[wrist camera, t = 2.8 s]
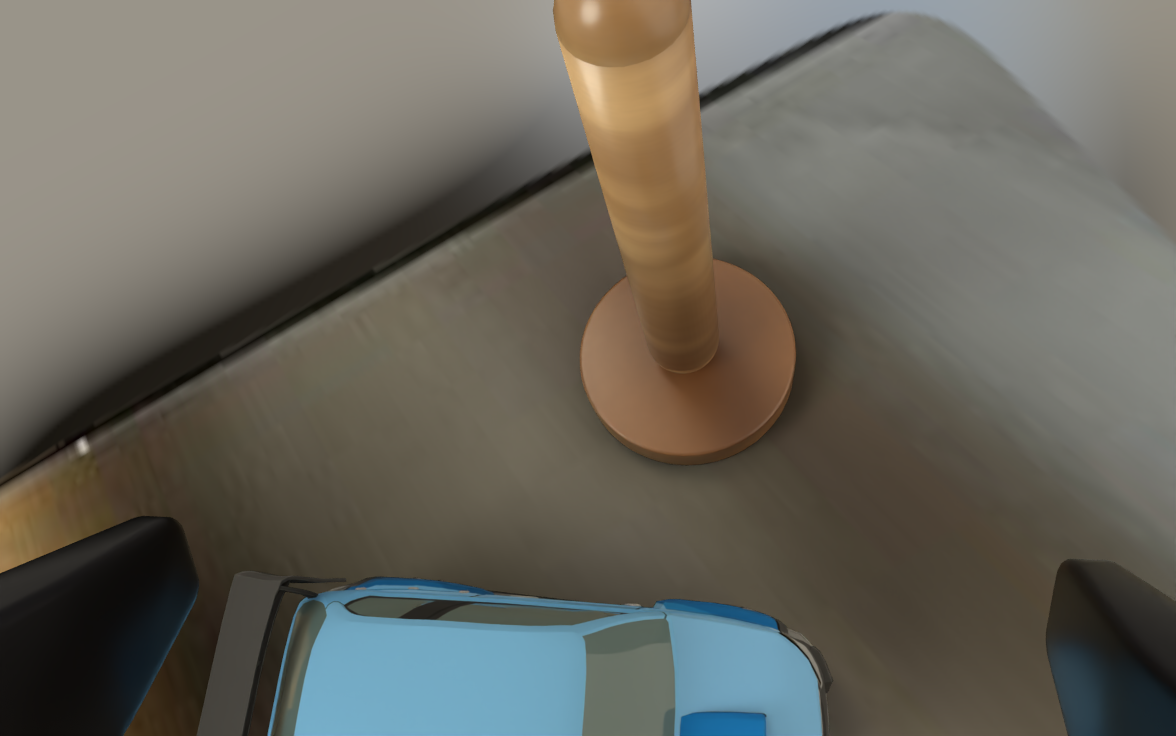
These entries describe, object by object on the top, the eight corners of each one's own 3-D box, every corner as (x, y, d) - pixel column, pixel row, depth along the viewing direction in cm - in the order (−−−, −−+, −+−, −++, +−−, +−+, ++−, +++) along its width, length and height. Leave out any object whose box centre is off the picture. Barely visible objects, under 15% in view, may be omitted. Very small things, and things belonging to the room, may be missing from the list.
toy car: (828, 898, 18) (860, 978, 13) (310, 832, 20) (158, 878, 15) (823, 612, 20) (849, 582, 15) (352, 581, 22) (232, 546, 17)
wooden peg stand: (665, 508, 22) (547, 244, 9) (547, 349, 24) (318, -44, 11) (839, 381, 22) (960, -44, 9) (707, 236, 24) (661, -267, 12)
